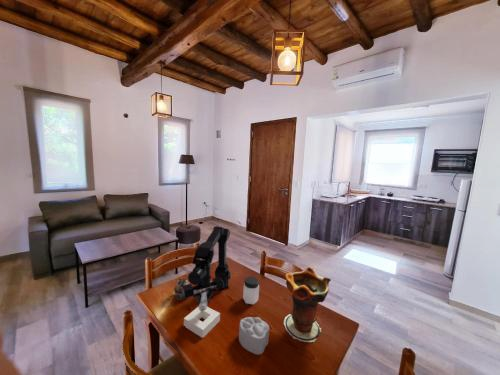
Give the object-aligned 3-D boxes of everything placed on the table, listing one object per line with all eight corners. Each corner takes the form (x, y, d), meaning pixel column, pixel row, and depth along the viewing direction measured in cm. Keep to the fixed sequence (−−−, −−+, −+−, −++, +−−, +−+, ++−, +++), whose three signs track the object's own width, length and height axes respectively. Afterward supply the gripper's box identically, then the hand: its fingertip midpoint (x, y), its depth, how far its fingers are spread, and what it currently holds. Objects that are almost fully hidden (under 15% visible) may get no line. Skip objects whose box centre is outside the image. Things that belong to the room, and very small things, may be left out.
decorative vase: (333, 325, 102) (338, 273, 97) (310, 356, 85) (315, 296, 81) (297, 303, 116) (300, 257, 112) (272, 326, 100) (274, 274, 96)
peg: (205, 304, 100) (206, 287, 99) (208, 309, 96) (208, 291, 95) (197, 306, 98) (198, 289, 97) (199, 311, 94) (200, 294, 93)
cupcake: (192, 299, 114) (193, 283, 113) (174, 303, 110) (174, 286, 109) (190, 289, 123) (191, 274, 122) (173, 292, 119) (173, 276, 118)
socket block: (201, 310, 106) (201, 303, 106) (219, 320, 100) (220, 313, 100) (183, 326, 96) (183, 318, 95) (202, 338, 90) (203, 329, 89)
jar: (241, 296, 120) (242, 277, 118) (253, 293, 123) (255, 274, 122) (246, 306, 112) (248, 285, 110) (260, 303, 115) (261, 283, 113)
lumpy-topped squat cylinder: (260, 357, 83) (261, 338, 82) (233, 342, 89) (234, 324, 88) (270, 339, 92) (271, 321, 91) (245, 326, 98) (246, 310, 97)
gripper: (216, 260, 106) (215, 288, 108) (179, 268, 97) (179, 298, 99) (225, 271, 97) (223, 301, 99) (185, 280, 88) (184, 313, 89)
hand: (202, 303), depth 97 cm, fingers closed on peg, 4 cm apart
